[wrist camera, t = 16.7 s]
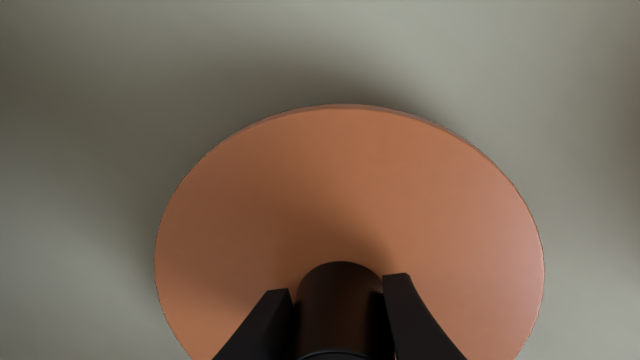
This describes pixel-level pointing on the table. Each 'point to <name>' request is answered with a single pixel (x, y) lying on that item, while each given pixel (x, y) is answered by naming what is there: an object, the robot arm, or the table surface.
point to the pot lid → (348, 236)
